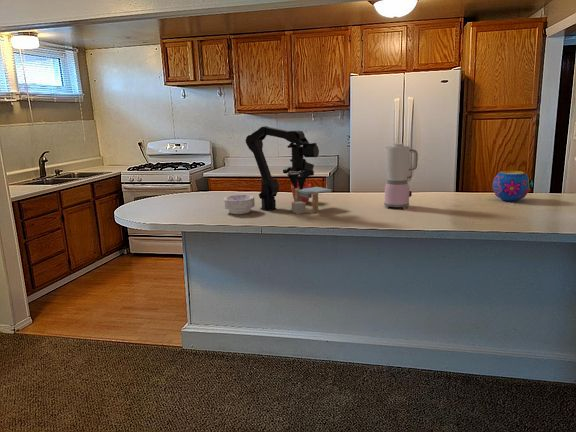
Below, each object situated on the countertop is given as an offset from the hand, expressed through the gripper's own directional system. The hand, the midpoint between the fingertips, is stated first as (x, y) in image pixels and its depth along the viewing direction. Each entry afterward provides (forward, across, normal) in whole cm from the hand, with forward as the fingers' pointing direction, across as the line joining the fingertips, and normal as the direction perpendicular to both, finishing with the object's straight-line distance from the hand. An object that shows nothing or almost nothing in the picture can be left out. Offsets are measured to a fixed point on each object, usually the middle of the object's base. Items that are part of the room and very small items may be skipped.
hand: (298, 188), depth 217 cm
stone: (+12, 0, 0) cm, 12 cm away
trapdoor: (+5, +1, -10) cm, 11 cm away
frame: (+12, +1, -6) cm, 13 cm away
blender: (+12, -24, -46) cm, 53 cm away
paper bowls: (+12, +19, +23) cm, 32 cm away
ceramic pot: (+12, -50, -101) cm, 113 cm away
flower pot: (+12, +19, -15) cm, 27 cm away
